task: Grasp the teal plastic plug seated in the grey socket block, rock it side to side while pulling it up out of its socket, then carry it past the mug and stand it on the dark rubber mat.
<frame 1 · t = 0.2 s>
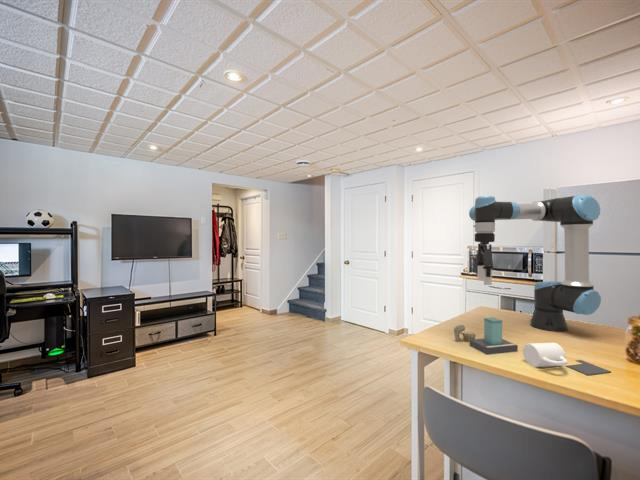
hand: (484, 282, 131), 27 cm above the table, fingers open, 13 cm apart
mug: (548, 368, 109), on the table
plug: (493, 348, 126), resting on grey socket block
grey socket block: (493, 349, 126), on the table
mat: (584, 367, 108), on the table
bone: (464, 342, 136), on the table
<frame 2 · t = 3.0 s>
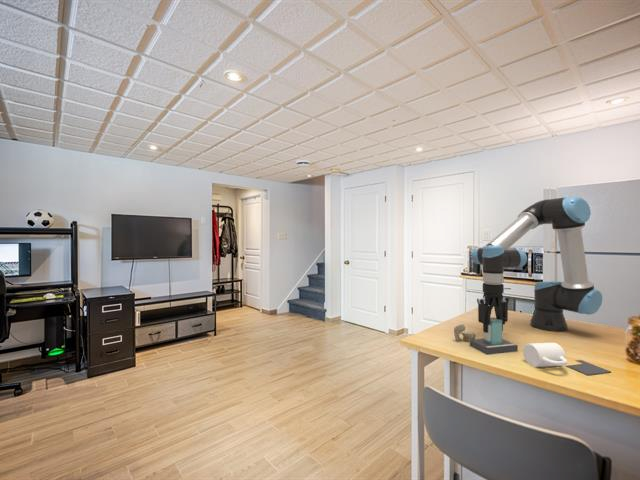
hand: (493, 339, 126), 4 cm above the table, fingers closed on plug, 4 cm apart
plug: (493, 348, 126), resting on grey socket block, touching gripper
everything else where it was.
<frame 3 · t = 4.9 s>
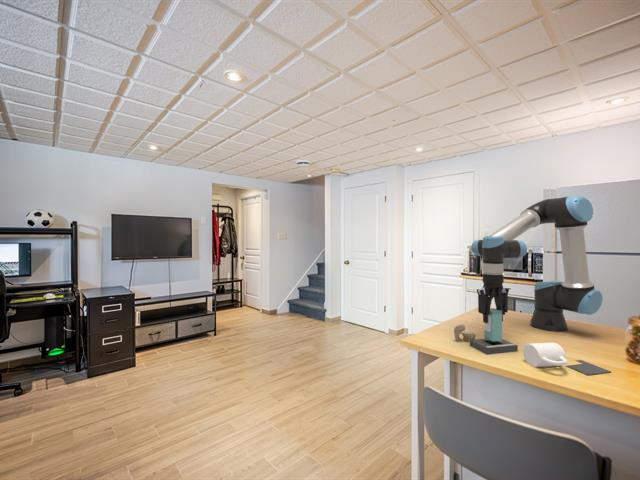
hand: (493, 330, 126), 8 cm above the table, fingers closed on plug, 4 cm apart
plug: (493, 339, 126), point 4 cm above the table, touching gripper
everything else where it was.
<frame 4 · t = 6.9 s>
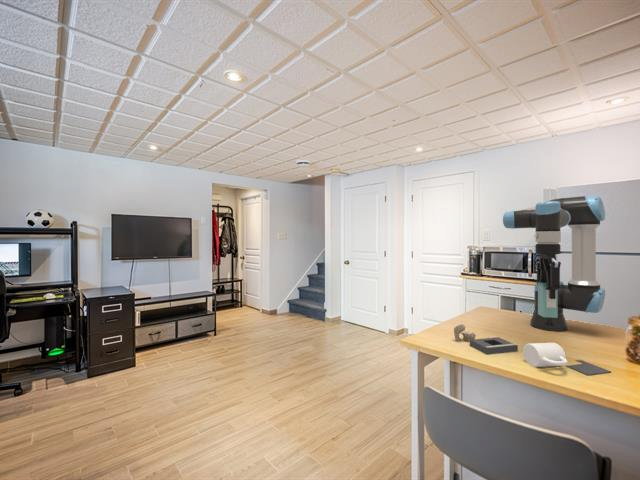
hand: (547, 305, 115), 21 cm above the table, fingers closed on plug, 4 cm apart
plug: (547, 315, 115), point 17 cm above the table, touching gripper
everything else where it was.
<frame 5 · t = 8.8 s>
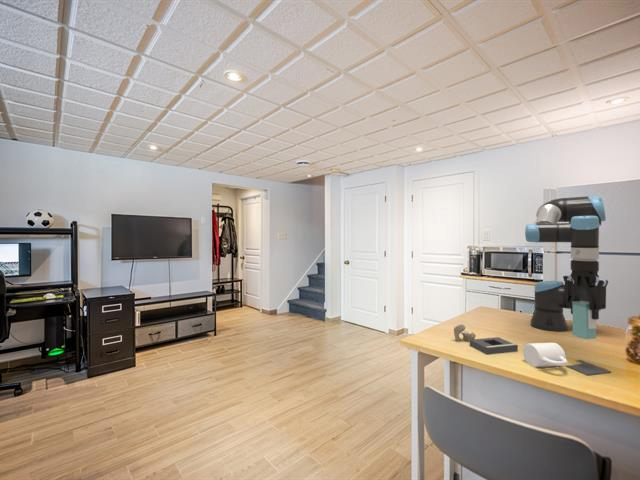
hand: (584, 325, 108), 15 cm above the table, fingers closed on plug, 4 cm apart
plug: (584, 336, 108), point 11 cm above the table, touching gripper
everything else where it was.
when the fingers open (5 cm above the table, at t = 10.7 s): plug drops 1 cm, resting on mat.
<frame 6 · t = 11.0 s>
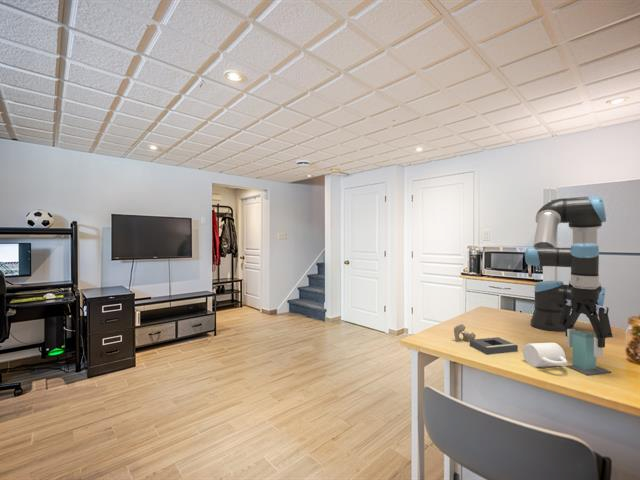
hand: (584, 351, 108), 6 cm above the table, fingers open, 8 cm apart
plug: (584, 366, 108), resting on mat
everything else where it was.
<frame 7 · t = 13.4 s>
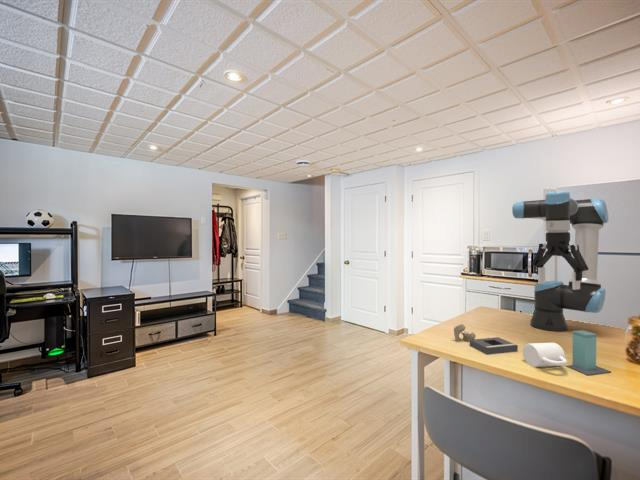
hand: (558, 286, 120), 27 cm above the table, fingers open, 13 cm apart
nothing on the table moved.
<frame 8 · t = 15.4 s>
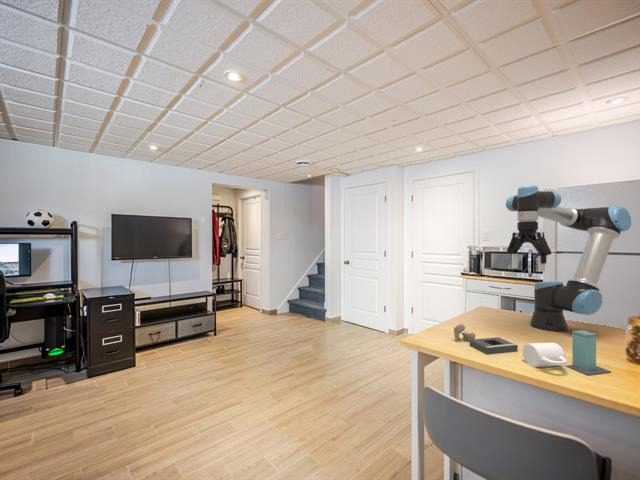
hand: (527, 269, 135), 32 cm above the table, fingers open, 13 cm apart
nothing on the table moved.
at the end: plug inside the target area on the mat (0.0 cm from its centre), point 0.4 cm above the mat's base; plug tilted 0°; plug touching mat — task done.
